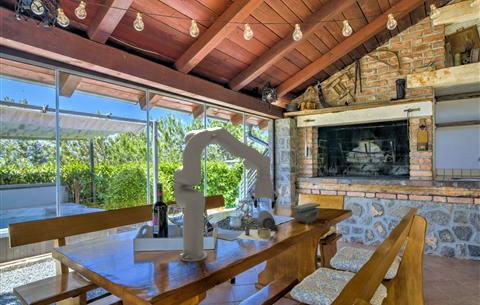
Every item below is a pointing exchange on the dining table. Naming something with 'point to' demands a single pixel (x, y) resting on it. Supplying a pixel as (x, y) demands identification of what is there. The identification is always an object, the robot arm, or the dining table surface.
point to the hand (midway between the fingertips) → (264, 207)
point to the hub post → (247, 230)
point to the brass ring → (264, 233)
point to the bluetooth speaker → (266, 220)
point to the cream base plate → (254, 235)
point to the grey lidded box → (306, 212)
